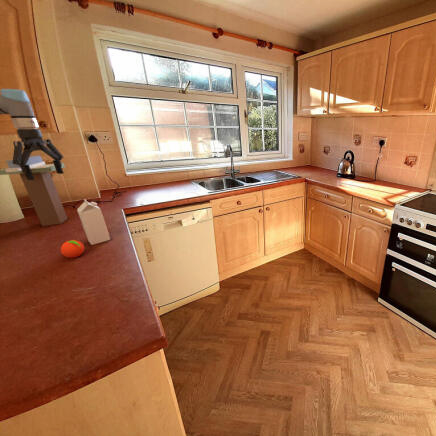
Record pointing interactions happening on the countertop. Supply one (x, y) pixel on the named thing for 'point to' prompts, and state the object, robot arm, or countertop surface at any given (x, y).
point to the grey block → (32, 162)
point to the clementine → (72, 248)
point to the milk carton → (93, 223)
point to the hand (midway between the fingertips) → (46, 176)
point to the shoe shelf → (43, 194)
